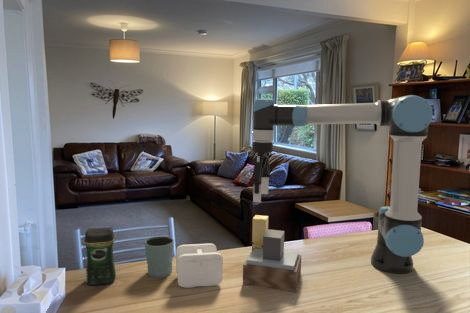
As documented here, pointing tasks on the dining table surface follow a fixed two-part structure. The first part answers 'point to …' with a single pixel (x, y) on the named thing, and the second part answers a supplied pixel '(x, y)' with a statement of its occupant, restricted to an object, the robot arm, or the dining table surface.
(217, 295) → the dining table surface
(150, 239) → the teal cup
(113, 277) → the coffee jar
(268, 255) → the cover
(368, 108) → the robot arm
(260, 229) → the pale yellow upright block
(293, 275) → the walnut box
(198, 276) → the white rounded double-panel block
